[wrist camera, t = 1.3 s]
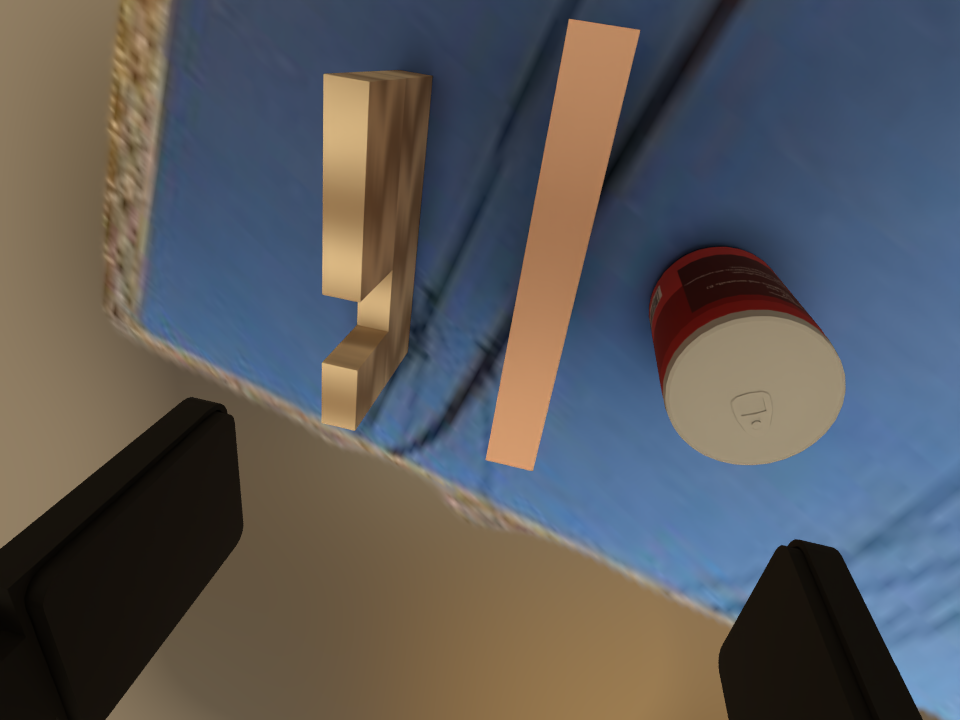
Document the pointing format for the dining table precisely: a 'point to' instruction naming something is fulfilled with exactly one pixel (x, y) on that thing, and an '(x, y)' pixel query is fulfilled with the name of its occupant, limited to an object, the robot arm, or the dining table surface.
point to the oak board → (371, 227)
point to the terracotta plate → (560, 230)
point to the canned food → (741, 359)
